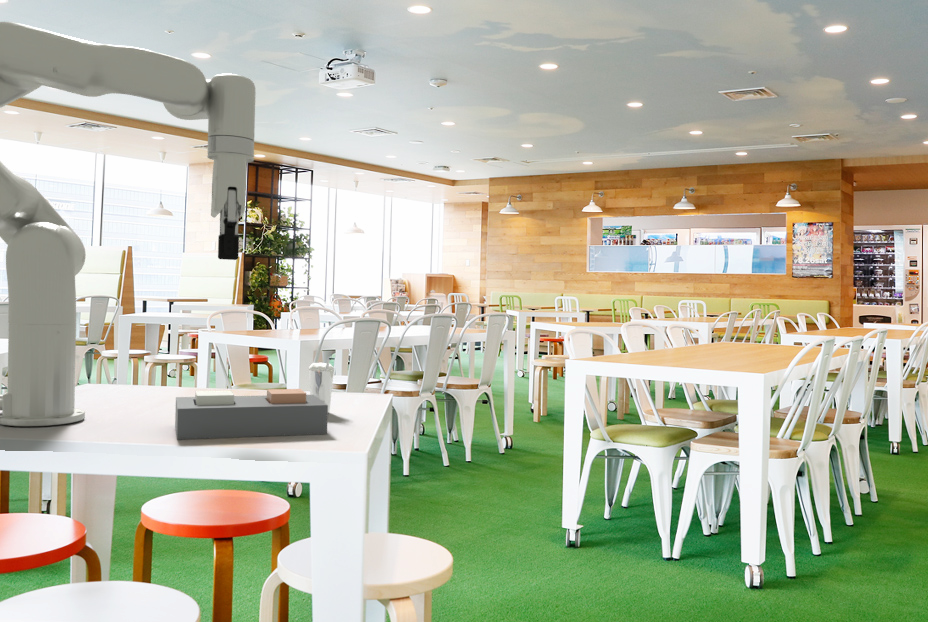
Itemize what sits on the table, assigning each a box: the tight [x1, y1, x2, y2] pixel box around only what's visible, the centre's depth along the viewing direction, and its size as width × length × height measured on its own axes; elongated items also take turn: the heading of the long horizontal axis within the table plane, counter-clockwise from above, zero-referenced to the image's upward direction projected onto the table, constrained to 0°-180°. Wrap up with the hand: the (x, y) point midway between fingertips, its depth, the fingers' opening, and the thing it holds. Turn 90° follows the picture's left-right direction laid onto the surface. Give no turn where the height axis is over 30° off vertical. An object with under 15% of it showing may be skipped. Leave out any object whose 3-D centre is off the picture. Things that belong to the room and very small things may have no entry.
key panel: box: [174, 394, 329, 440], centre depth 125 cm, size 22×12×4 cm, turn 111°
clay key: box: [266, 388, 307, 404], centre depth 127 cm, size 5×5×4 cm
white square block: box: [194, 390, 235, 405], centre depth 123 cm, size 5×5×4 cm
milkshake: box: [308, 358, 335, 414], centre depth 143 cm, size 5×5×10 cm
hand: (228, 259), depth 134 cm, fingers closed
